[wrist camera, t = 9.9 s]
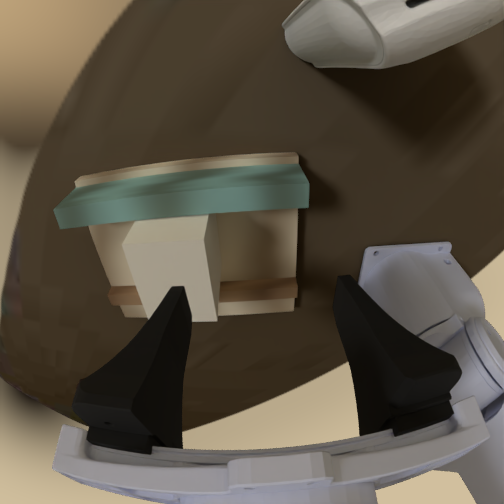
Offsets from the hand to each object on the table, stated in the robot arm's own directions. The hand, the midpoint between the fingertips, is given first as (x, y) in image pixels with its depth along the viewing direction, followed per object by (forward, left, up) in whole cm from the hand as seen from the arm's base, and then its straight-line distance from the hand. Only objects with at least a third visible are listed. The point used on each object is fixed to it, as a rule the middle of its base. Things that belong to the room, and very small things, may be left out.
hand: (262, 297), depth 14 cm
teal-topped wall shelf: (+5, +3, -9) cm, 11 cm away
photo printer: (-7, -14, -10) cm, 18 cm away
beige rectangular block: (+5, +1, -8) cm, 10 cm away
